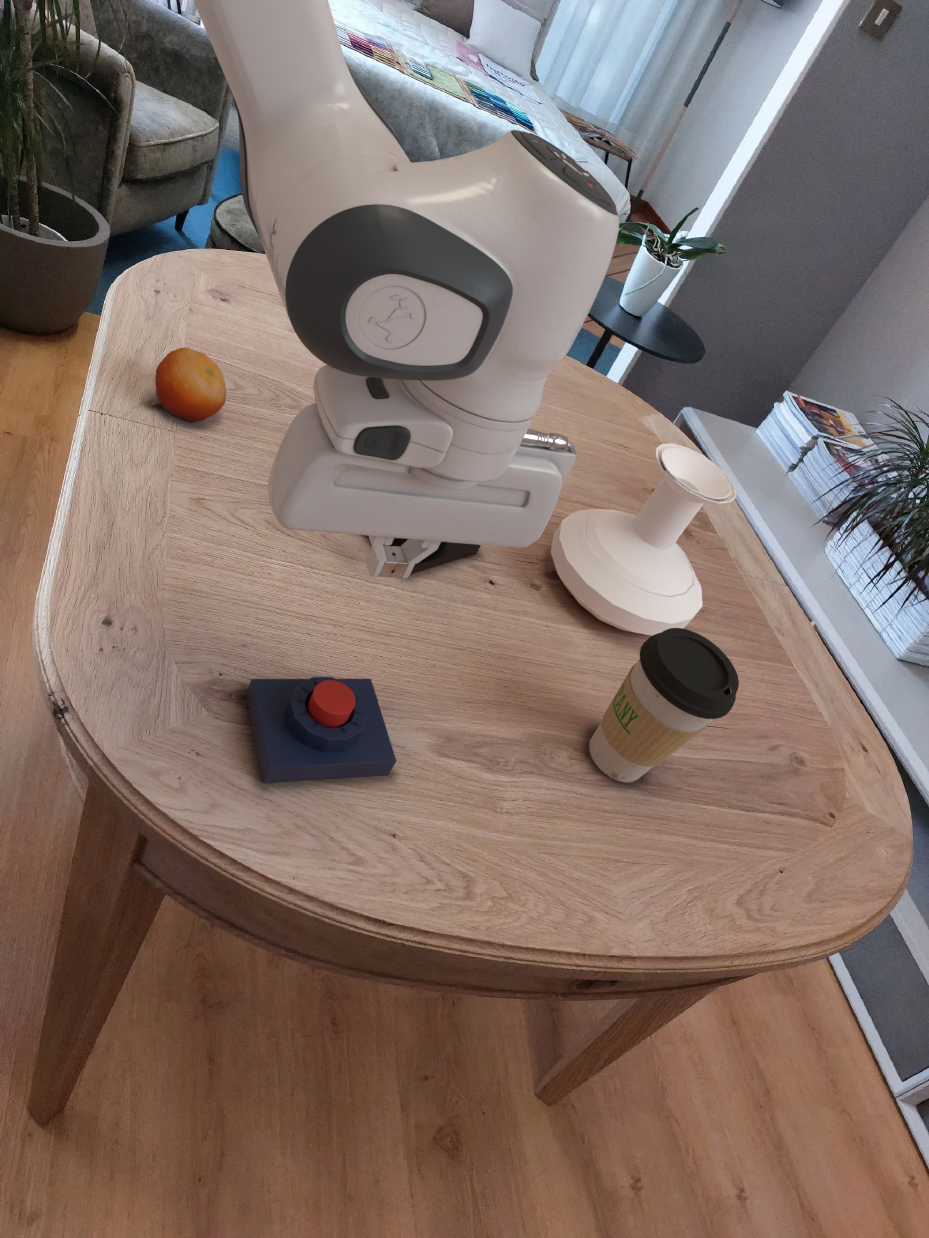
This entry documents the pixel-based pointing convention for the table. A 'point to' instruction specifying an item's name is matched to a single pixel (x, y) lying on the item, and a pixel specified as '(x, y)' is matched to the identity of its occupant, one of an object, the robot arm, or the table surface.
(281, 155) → the robot arm
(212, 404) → the fruit
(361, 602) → the table surface
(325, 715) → the button
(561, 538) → the candle holder
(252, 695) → the control block
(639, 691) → the coffee cup
